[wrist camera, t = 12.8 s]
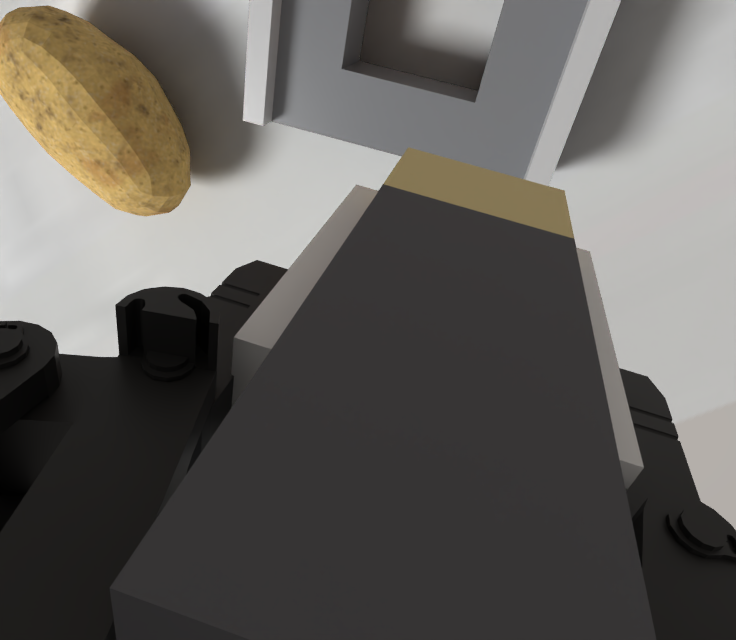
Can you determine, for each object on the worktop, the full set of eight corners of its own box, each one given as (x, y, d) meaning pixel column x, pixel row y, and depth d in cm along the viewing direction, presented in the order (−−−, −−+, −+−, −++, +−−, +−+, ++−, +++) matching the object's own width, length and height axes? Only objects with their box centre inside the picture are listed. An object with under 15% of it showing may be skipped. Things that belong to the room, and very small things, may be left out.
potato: (107, -33, 27) (6, -37, 22) (241, 165, 30) (183, 201, 25) (35, 45, 30) (-68, 58, 25) (164, 216, 34) (98, 258, 28)
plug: (375, 281, 16) (134, 778, 6) (408, 147, 14) (109, 588, 4) (508, 321, 16) (485, 919, 6) (564, 190, 13) (690, 803, 3)
